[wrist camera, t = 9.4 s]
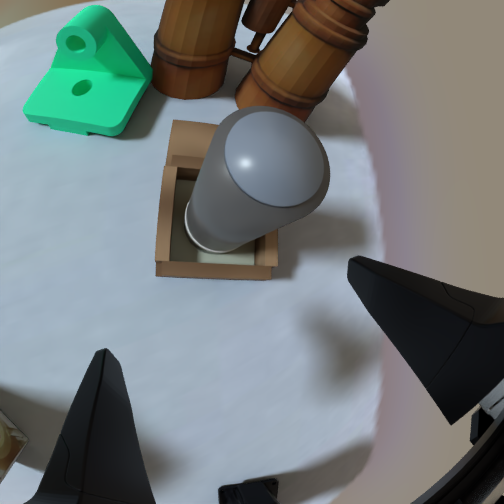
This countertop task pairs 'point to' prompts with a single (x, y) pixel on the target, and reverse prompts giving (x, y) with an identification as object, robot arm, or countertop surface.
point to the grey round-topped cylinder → (255, 179)
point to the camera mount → (91, 77)
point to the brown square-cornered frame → (173, 211)
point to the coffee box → (9, 444)
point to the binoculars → (267, 60)
